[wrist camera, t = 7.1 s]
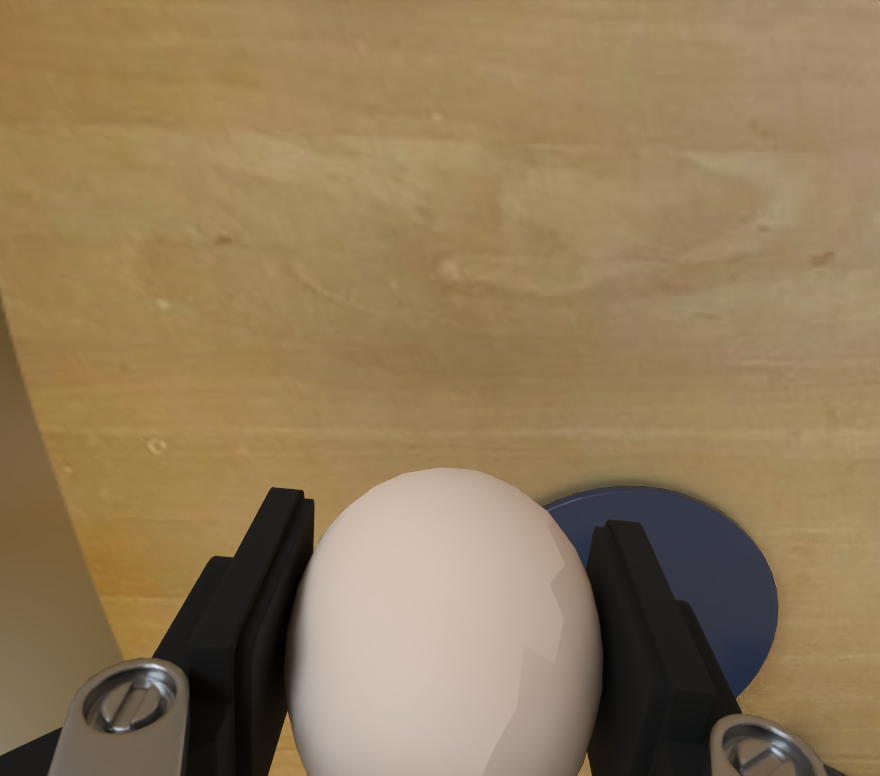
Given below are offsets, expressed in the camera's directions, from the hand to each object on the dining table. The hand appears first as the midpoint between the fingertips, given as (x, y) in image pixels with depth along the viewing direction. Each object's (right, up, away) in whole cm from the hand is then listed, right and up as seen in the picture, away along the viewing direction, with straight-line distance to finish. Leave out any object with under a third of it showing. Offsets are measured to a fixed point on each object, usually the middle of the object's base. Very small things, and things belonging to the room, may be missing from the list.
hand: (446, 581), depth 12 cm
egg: (0, +1, +2) cm, 2 cm away
